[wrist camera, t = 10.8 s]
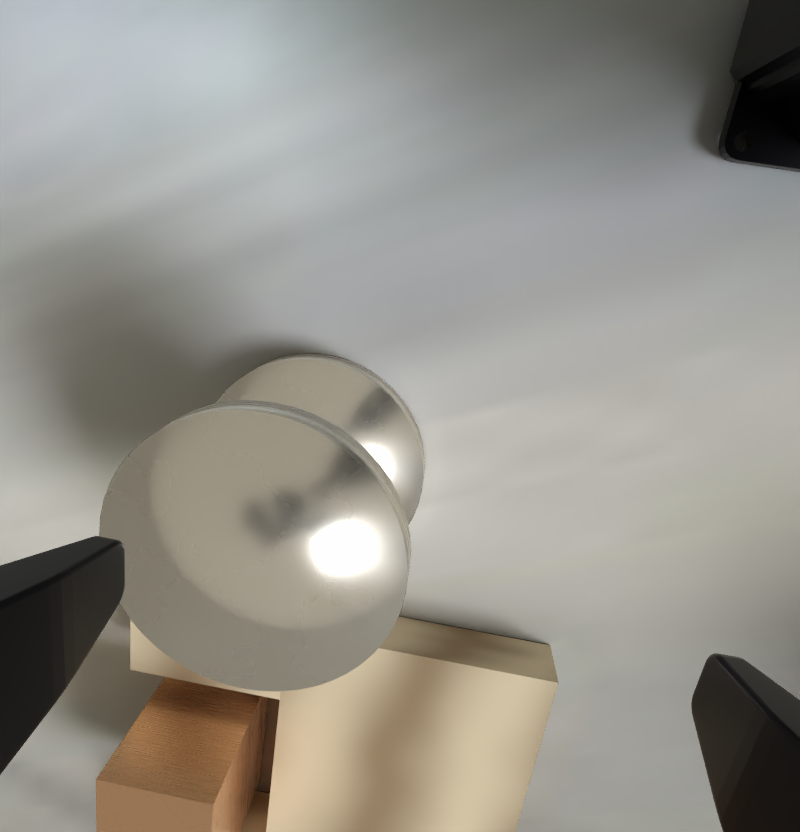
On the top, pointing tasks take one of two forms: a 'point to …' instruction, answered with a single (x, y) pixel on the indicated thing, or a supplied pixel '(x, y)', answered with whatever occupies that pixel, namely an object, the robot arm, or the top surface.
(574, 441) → the top surface
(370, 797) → the notched board
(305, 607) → the bobbin
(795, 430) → the top surface
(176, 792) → the wooden block
